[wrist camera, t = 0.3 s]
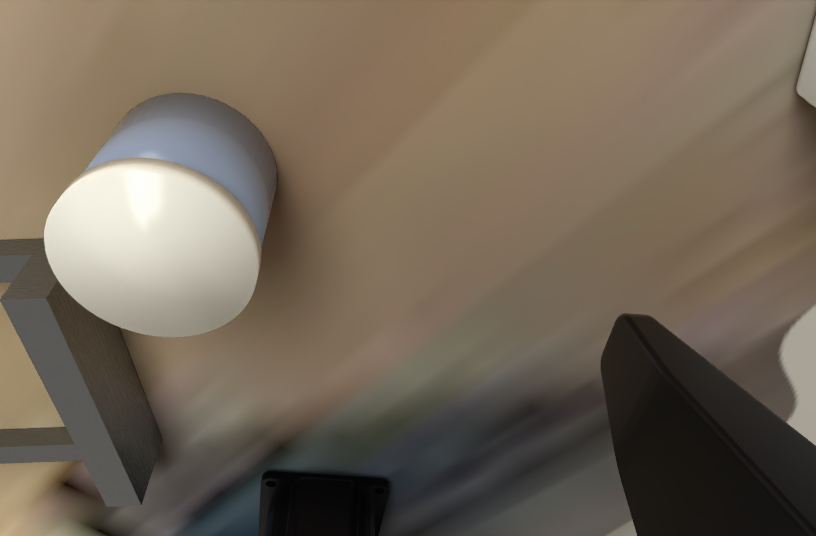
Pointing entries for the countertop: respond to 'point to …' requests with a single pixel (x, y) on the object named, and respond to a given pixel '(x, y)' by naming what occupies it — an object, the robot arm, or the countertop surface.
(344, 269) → the countertop surface
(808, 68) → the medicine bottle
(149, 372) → the countertop surface
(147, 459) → the gray u-shaped archway
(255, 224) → the jar
